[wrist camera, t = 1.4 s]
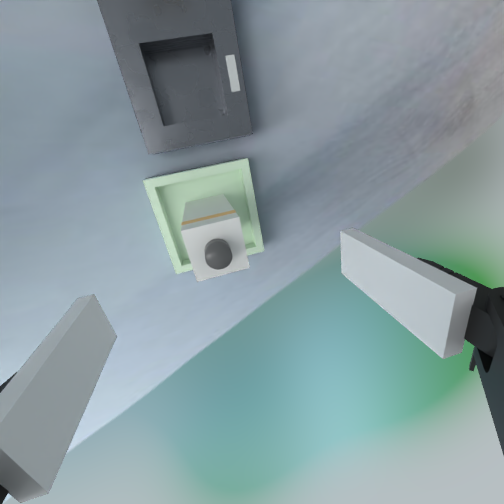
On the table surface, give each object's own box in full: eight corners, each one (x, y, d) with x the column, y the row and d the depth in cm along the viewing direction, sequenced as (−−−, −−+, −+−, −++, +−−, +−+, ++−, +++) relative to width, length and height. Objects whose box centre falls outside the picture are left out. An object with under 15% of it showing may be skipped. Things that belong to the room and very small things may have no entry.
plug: (195, 238, 27) (197, 290, 17) (185, 202, 25) (179, 236, 15) (231, 229, 27) (253, 275, 17) (223, 193, 26) (242, 221, 15)
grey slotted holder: (154, 153, 23) (148, 154, 20) (60, -137, 16) (26, -211, 13) (245, 135, 24) (252, 133, 21) (196, -143, 17) (196, -213, 14)
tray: (177, 266, 28) (176, 274, 26) (146, 178, 24) (142, 180, 22) (260, 245, 29) (264, 251, 28) (244, 157, 25) (247, 158, 23)
